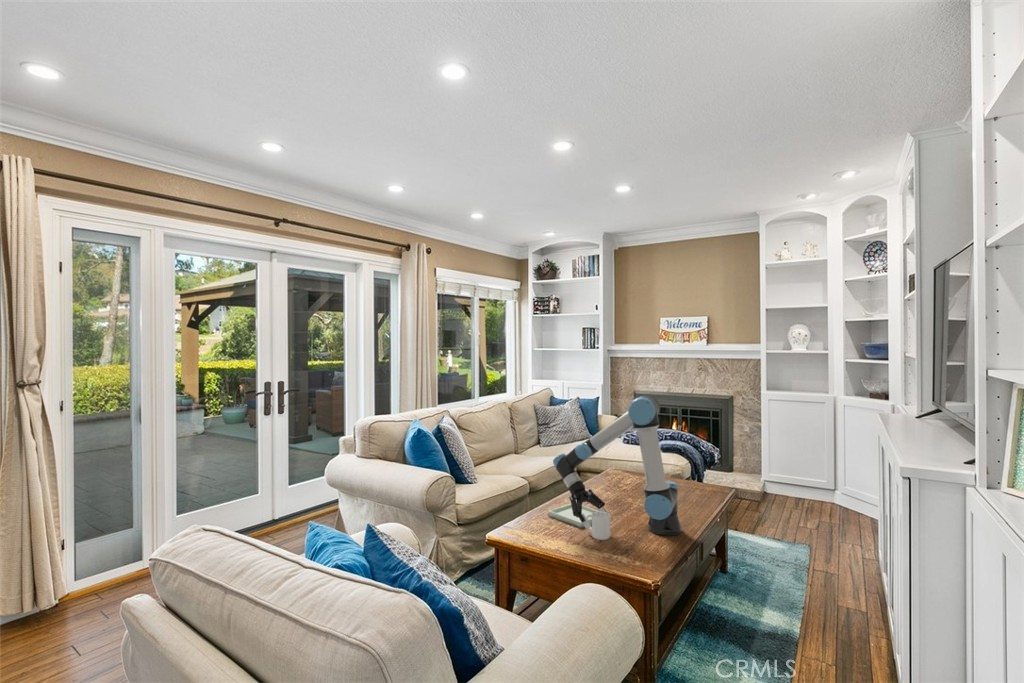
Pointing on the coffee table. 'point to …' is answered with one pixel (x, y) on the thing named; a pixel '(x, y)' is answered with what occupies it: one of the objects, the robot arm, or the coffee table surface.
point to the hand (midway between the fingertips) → (598, 524)
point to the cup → (600, 525)
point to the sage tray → (571, 515)
